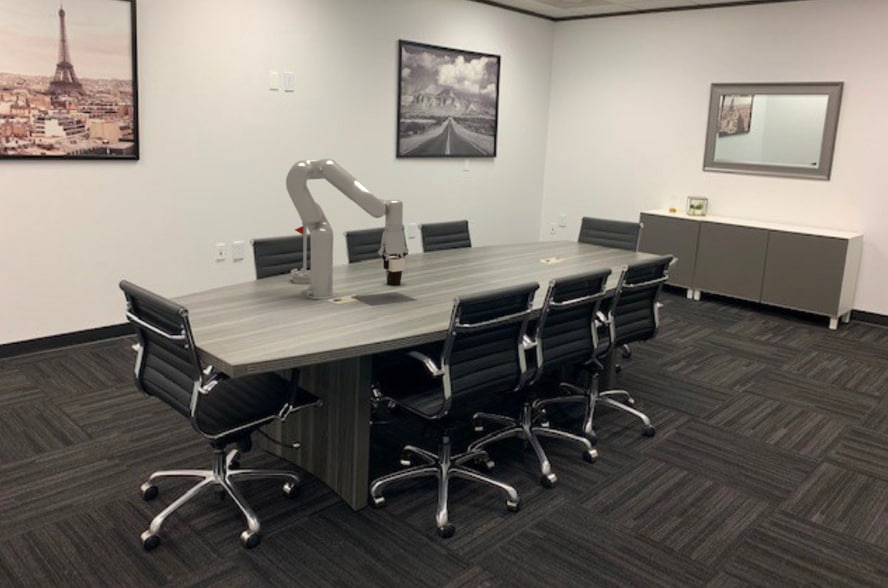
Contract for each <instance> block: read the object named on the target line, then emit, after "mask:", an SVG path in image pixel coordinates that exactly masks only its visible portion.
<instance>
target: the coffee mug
mask: <svg viewBox="0 0 888 588" xmlns="http://www.w3.org/2000/svg"><path fill="white" fill-rule="evenodd" d="M385 273H386V284H387V286H391V287H392V286H394V287H396V286H397V287H398V286H401V282H402V275H403V271H396V272H392V271H388V270H385Z"/></svg>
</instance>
